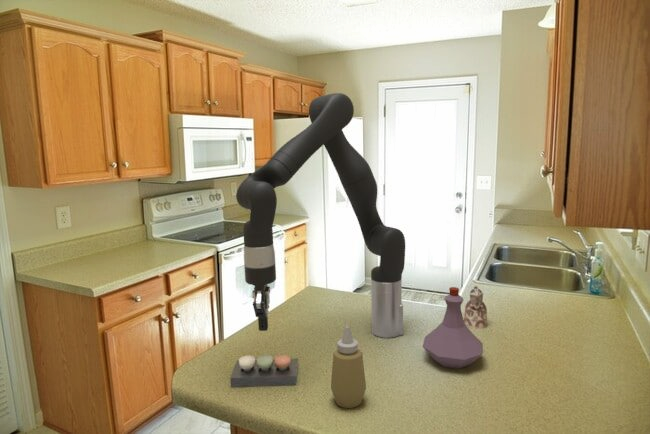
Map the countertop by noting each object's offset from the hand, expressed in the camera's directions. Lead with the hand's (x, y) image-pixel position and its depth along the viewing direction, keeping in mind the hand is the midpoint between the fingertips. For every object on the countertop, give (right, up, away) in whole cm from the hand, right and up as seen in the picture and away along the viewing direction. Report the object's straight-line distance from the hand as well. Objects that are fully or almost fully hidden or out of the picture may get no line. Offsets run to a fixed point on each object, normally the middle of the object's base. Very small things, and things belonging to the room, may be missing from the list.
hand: (263, 329), depth 112 cm
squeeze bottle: (+21, -14, -10) cm, 27 cm away
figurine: (+64, -6, +31) cm, 71 cm away
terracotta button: (+5, -12, +2) cm, 13 cm away
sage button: (0, -12, +2) cm, 12 cm away
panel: (0, -13, +2) cm, 13 cm away
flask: (+50, -10, +8) cm, 51 cm away
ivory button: (-4, -12, +2) cm, 13 cm away
